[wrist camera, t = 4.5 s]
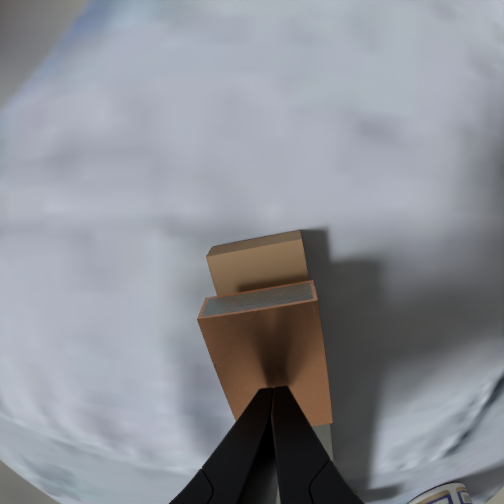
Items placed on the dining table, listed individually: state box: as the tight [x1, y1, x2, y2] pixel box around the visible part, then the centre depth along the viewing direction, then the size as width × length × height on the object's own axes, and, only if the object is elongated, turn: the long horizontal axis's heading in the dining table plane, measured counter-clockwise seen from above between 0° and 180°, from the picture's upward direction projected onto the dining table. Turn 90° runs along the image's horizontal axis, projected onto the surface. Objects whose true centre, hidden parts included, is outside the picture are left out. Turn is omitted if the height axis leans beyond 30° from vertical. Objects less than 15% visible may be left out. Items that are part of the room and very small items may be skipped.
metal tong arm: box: [197, 280, 334, 504], centre depth 12 cm, size 19×3×1 cm, turn 13°
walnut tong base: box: [206, 230, 357, 495], centre depth 12 cm, size 20×6×4 cm, turn 12°
